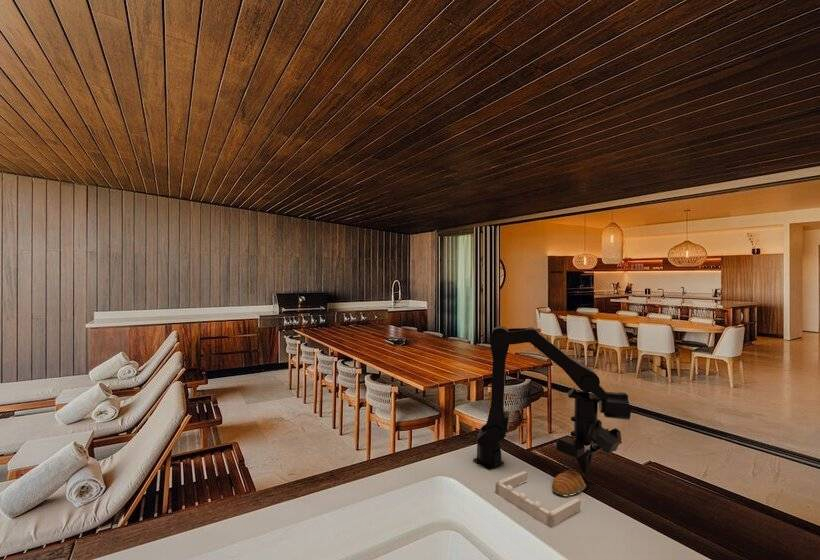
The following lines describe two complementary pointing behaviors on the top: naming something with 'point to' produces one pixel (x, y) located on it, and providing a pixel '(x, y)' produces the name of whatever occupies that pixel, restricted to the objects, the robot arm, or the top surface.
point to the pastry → (568, 483)
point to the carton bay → (534, 508)
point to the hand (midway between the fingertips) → (584, 472)
